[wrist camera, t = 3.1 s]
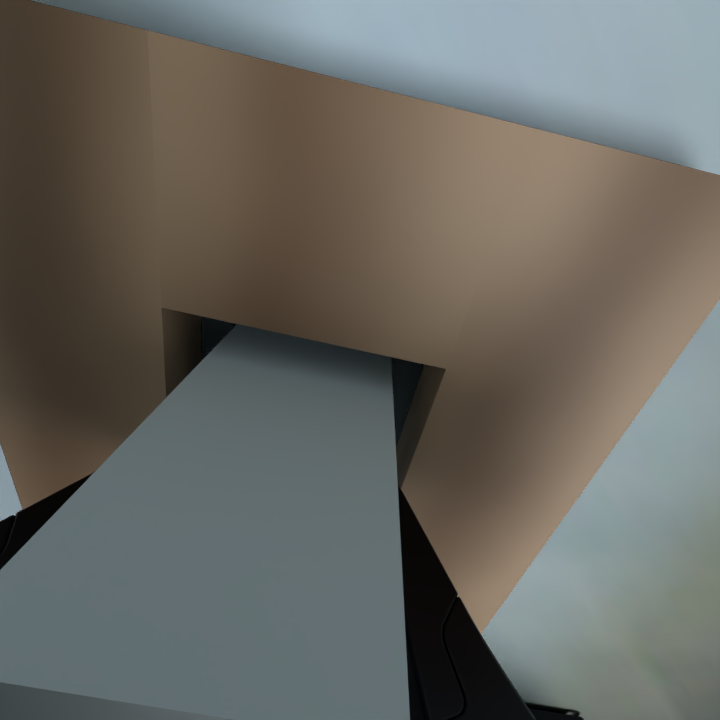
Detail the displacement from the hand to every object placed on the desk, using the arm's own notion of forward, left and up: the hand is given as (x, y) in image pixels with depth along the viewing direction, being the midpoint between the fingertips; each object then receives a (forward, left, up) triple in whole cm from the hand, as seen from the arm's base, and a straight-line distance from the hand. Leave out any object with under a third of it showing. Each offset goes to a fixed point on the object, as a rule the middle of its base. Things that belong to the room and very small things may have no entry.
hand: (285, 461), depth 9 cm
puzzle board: (0, 0, -2) cm, 2 cm away
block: (0, 0, -3) cm, 3 cm away
